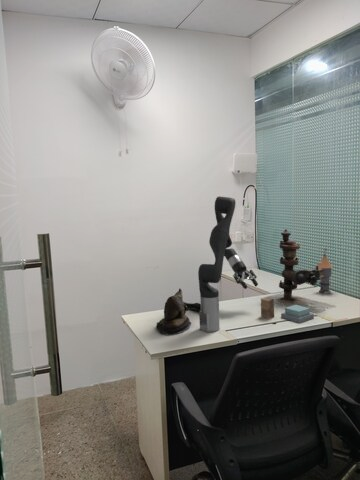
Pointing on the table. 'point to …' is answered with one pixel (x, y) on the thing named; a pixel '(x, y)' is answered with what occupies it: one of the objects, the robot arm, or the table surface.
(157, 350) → the table surface
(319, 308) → the valve
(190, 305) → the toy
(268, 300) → the walnut pillar
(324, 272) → the model tower
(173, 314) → the sculpture
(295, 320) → the tower base slab
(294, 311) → the tower top slab
